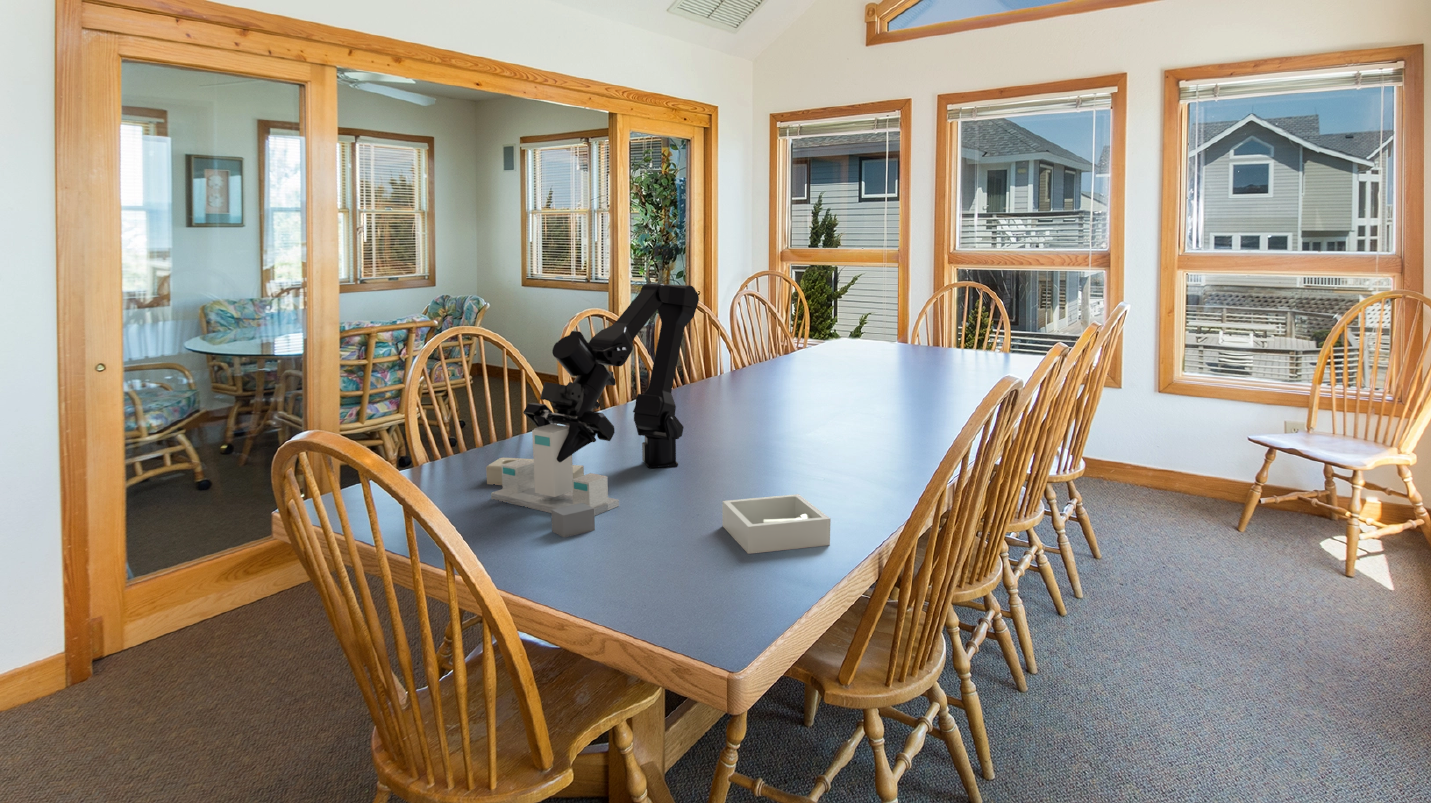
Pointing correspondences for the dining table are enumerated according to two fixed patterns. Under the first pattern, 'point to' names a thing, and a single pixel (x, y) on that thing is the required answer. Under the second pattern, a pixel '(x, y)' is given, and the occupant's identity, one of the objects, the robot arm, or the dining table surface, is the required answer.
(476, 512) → the dining table surface
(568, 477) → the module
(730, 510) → the parts tray
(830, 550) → the dining table surface
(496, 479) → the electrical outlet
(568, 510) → the grey rectangular block
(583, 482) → the rail plate
